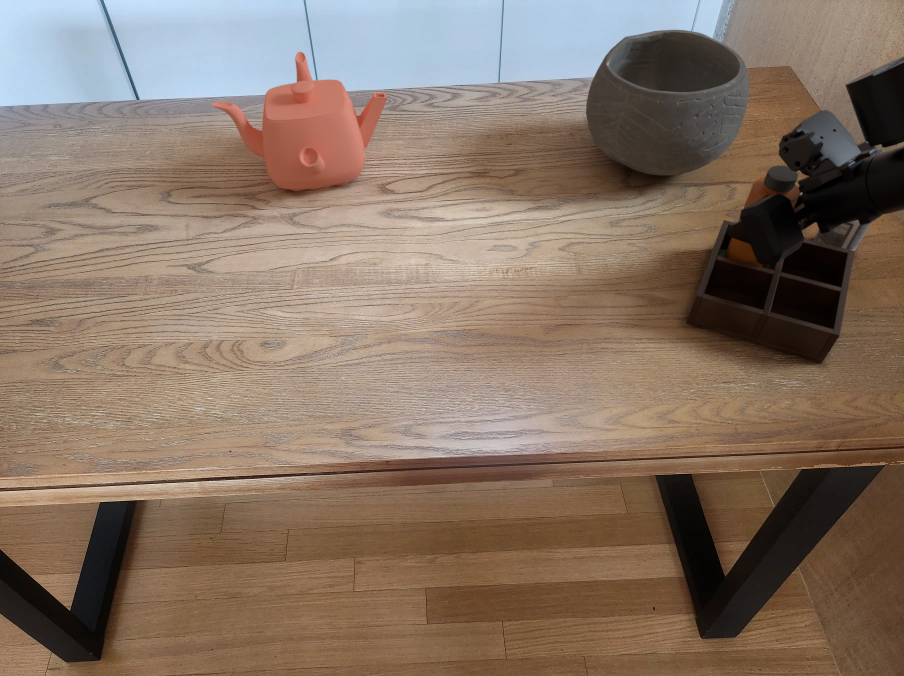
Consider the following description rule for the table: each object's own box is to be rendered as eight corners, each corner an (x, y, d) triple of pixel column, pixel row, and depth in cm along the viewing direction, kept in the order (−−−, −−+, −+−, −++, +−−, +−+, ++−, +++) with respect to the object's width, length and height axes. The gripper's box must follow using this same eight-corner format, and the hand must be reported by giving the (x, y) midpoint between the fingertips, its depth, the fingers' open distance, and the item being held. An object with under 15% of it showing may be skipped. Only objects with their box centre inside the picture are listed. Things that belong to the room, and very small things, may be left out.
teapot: (234, 182, 103) (208, 97, 92) (314, 126, 111) (298, 43, 101) (322, 222, 95) (303, 135, 84) (399, 159, 104) (392, 72, 93)
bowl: (744, 198, 92) (785, 95, 81) (591, 206, 93) (610, 105, 82) (701, 117, 105) (731, 18, 94) (568, 124, 107) (581, 28, 95)
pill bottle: (845, 237, 86) (877, 181, 79) (857, 261, 83) (891, 206, 76) (806, 236, 86) (834, 181, 80) (817, 261, 83) (847, 206, 77)
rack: (837, 279, 81) (855, 250, 78) (821, 363, 73) (840, 335, 70) (713, 248, 86) (723, 219, 83) (685, 323, 78) (696, 295, 75)
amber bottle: (770, 276, 81) (818, 178, 70) (738, 289, 80) (782, 191, 69) (742, 253, 84) (784, 155, 73) (711, 265, 83) (749, 168, 72)
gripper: (917, 69, 65) (777, 126, 79) (793, 138, 59) (667, 186, 73) (952, 176, 66) (809, 212, 81) (836, 253, 61) (704, 277, 75)
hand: (749, 219), depth 78 cm, fingers open, 7 cm apart
